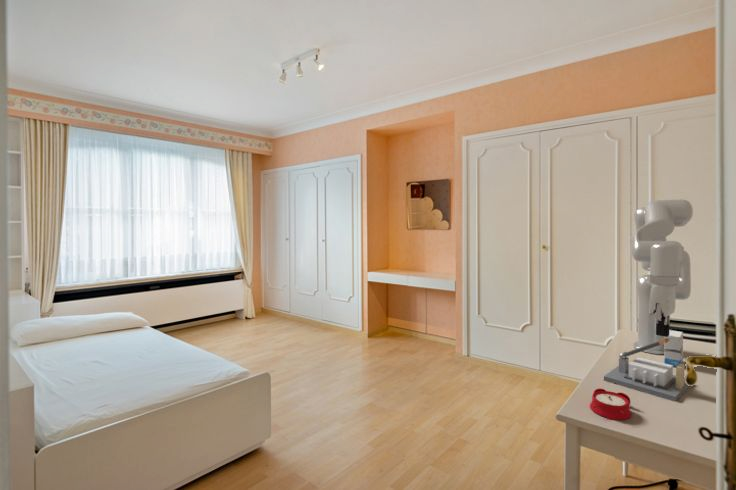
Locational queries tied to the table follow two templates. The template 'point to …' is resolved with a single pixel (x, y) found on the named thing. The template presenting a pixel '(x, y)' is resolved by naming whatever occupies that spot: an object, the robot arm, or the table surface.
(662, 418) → the table surface
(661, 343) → the grey flat bar
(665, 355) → the ink box
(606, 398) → the alarm clock
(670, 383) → the heatsink board
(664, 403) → the table surface
